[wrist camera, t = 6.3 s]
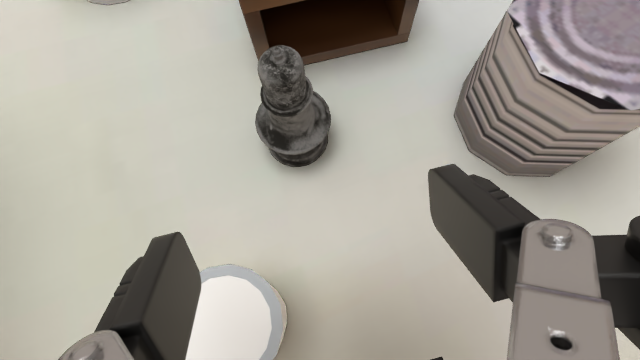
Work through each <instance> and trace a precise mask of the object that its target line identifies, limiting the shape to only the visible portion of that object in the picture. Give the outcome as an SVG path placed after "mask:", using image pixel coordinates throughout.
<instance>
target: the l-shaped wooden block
mask: <svg viewBox="0 0 640 360" xmlns="http://www.w3.org/2000/svg"><path fill="white" fill-rule="evenodd" d="M239 3H240V6H241V9H242V12H243V15H244V18H245V21H246V24H247V28H248V31H249V34H250V37H251V40H252V43H253V46H254V49H255V52H256V55H257V58H258V61H259V59H260V57H261V56H262V54H263V53H264V52H265V51H266V50H268V49H269V48H271V47H273V46H277V45H284V46H288V47H291V48H293V49H295V50H296V51H297V52H298V53H299V55H300V56H301V58H302V60H303V64H304V65H306V64H310V63H315V62H319V61H323V60H328V59H332V58H336V57H341V56H345V55H350V54H354V53H358V52H363V51H367V50H371V49H376V48H380V47H384V46H389V45H393V44H397V43H402V42H406V41H408V38H409V34H410V31H411V27H412V24H413V20H414V17H415V13H416V10H417V6H418V3H419V0H239Z"/></svg>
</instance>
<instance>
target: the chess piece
mask: <svg viewBox="0 0 640 360" xmlns="http://www.w3.org/2000/svg"><path fill="white" fill-rule="evenodd" d="M258 74H259V77H260V80H261V83H262V88H261V94H260V95H261V101H262V103H261V105H260V106H259V109H258V111H257V114H256V121H255V124H256V129H257V133H258V135H259V137H260V139H261V140H262V141H263V142H264V144H265V145H266V146H267V147H268V148H269V150H270V152H271V154H272V155H273V156H274V158H275V159H276V160H277V161H279V162H281V163H282V164H284V165H288V166H292V167H301V166H305V165H309V164H311V163H313V162H314V161H316V160H317V159H318V158H319V157H320V156H321V155H322V154H323V152H324V151H325V149H326V146H327V143H328V131H329V128H330V123H331V115H330V111H329V107H328V105H327V104H326V102H325V100H324V99H323V98H322V97H321V96H320V95H319V94H318V93H316V92H314V91H313V88H312V84H311V82H310V81H309V79H308V78H307V77H306V76H305V70H304V64H303V60H302V58H301V56H300V55H299V53H298V52H297V51H296V50H295V49H293V48H291V47H288V46H284V45H277V46H273V47H271V48H269V49H268V50H266V51H265V52H264V53H263V54H262V56H261V57H260V59H259V62H258Z"/></svg>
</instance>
